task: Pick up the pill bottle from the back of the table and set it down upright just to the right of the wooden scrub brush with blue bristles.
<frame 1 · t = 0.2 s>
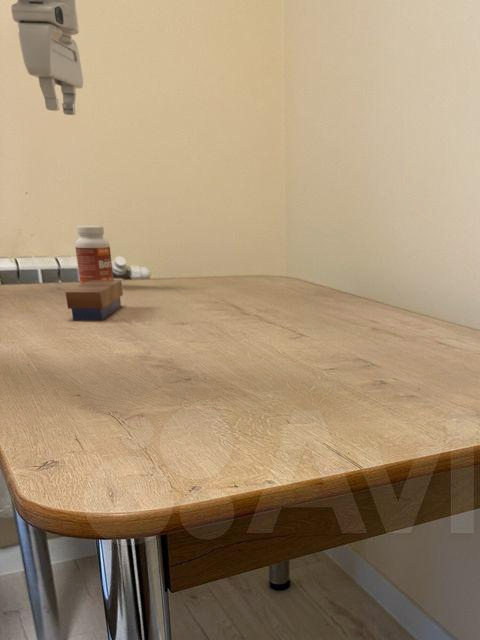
hand: (61, 112, 122), 30 cm above the table, tool pointing down, fingers open, 8 cm apart
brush: (98, 313, 111), on the table
pill bottle: (97, 288, 137), on the table
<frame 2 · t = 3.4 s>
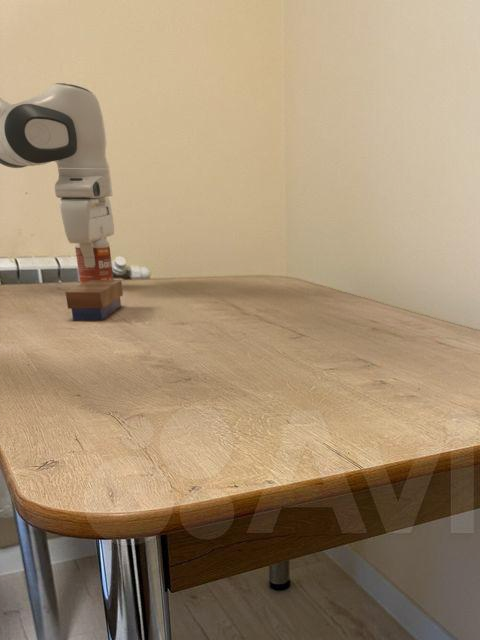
hand: (96, 264, 135), 4 cm above the table, tool pointing down, fingers closed on pill bottle, 6 cm apart
pill bottle: (97, 288, 136), on the table, touching gripper
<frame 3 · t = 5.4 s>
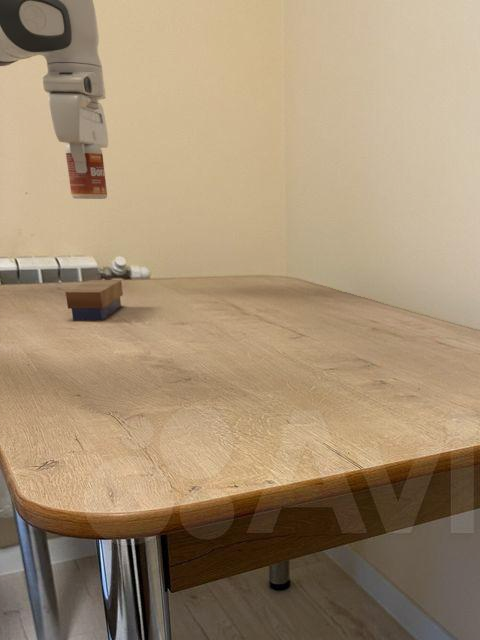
hand: (88, 173, 127), 20 cm above the table, tool pointing down, fingers closed on pill bottle, 6 cm apart
pill bottle: (90, 199, 129), point 16 cm above the table, touching gripper
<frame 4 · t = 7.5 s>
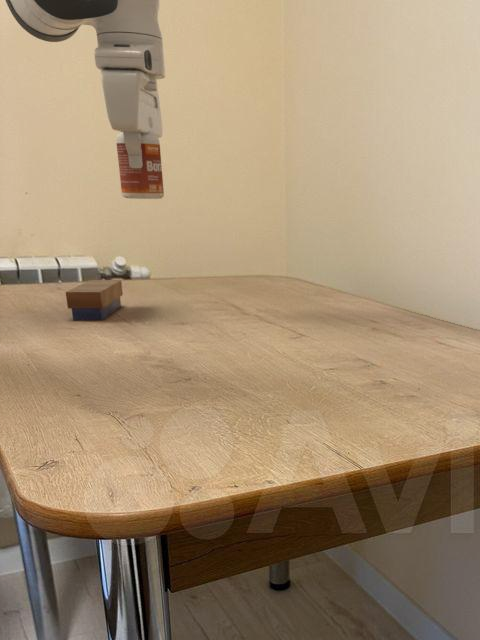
hand: (142, 168, 105), 21 cm above the table, tool pointing down, fingers closed on pill bottle, 6 cm apart
pill bottle: (143, 199, 107), point 17 cm above the table, touching gripper
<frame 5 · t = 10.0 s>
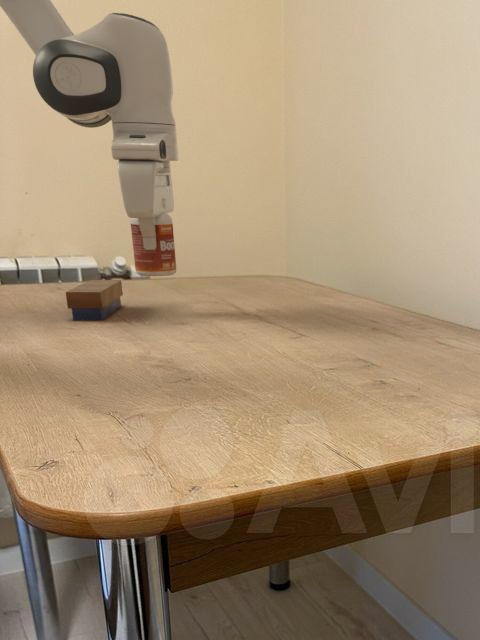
hand: (155, 246, 108), 10 cm above the table, tool pointing down, fingers closed on pill bottle, 6 cm apart
pill bottle: (156, 275, 110), point 6 cm above the table, touching gripper
when the fingers open (4 cm above the table, at t = 12.0 s): pill bottle stays where it is, on the table.
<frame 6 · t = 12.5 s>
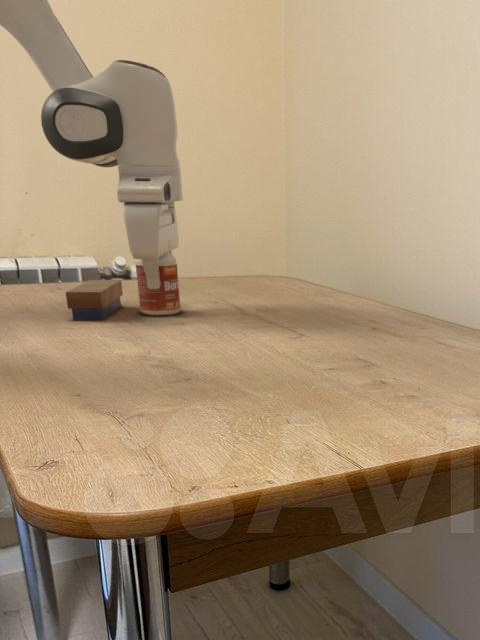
hand: (160, 284, 110), 5 cm above the table, tool pointing down, fingers open, 8 cm apart
pill bottle: (160, 314, 112), on the table
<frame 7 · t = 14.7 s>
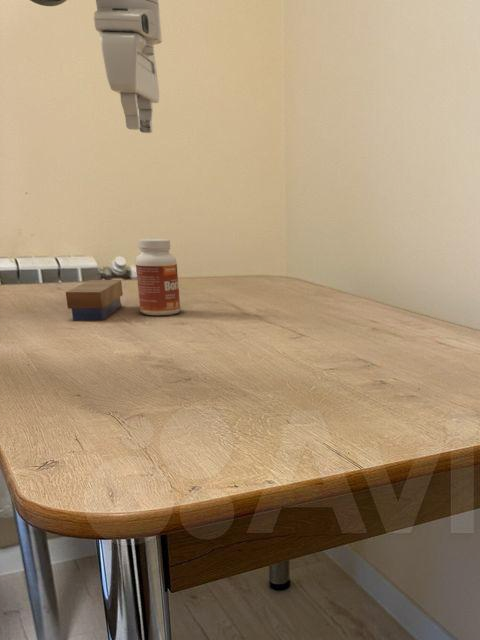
hand: (140, 131, 110), 26 cm above the table, tool pointing down, fingers open, 8 cm apart
nothing on the table moved.
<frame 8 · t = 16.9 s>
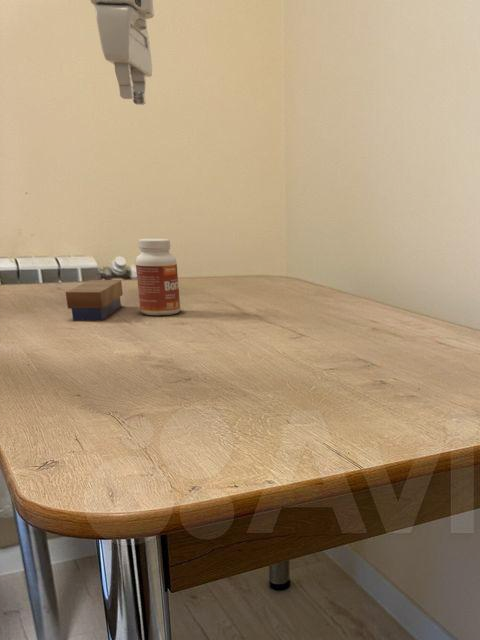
hand: (133, 101, 116), 31 cm above the table, tool pointing down, fingers open, 8 cm apart
nothing on the table moved.
at the end: pill bottle inside the target area on the table beside the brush (0.3 cm from its centre), on the table; pill bottle tilted 0°; the gripper is holding nothing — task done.
